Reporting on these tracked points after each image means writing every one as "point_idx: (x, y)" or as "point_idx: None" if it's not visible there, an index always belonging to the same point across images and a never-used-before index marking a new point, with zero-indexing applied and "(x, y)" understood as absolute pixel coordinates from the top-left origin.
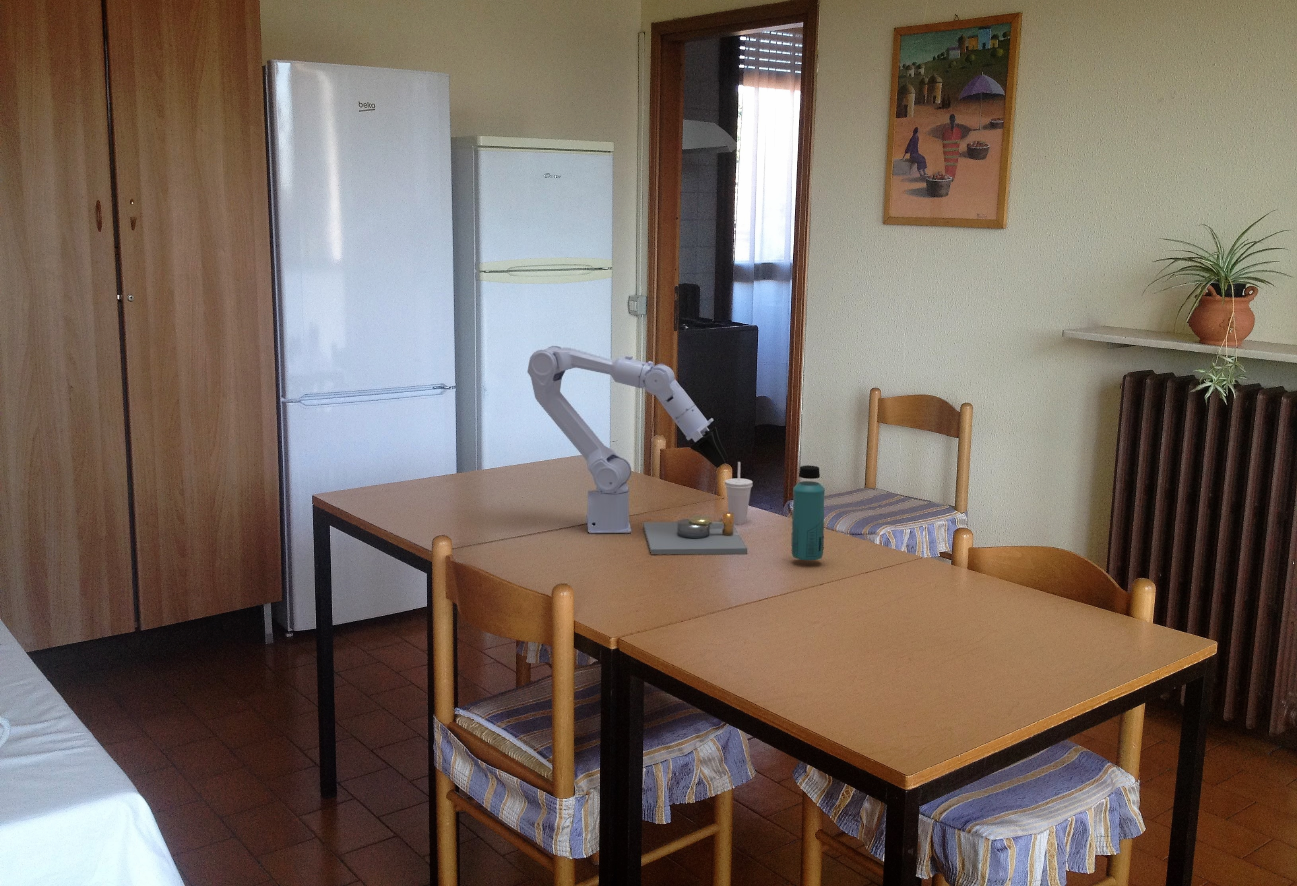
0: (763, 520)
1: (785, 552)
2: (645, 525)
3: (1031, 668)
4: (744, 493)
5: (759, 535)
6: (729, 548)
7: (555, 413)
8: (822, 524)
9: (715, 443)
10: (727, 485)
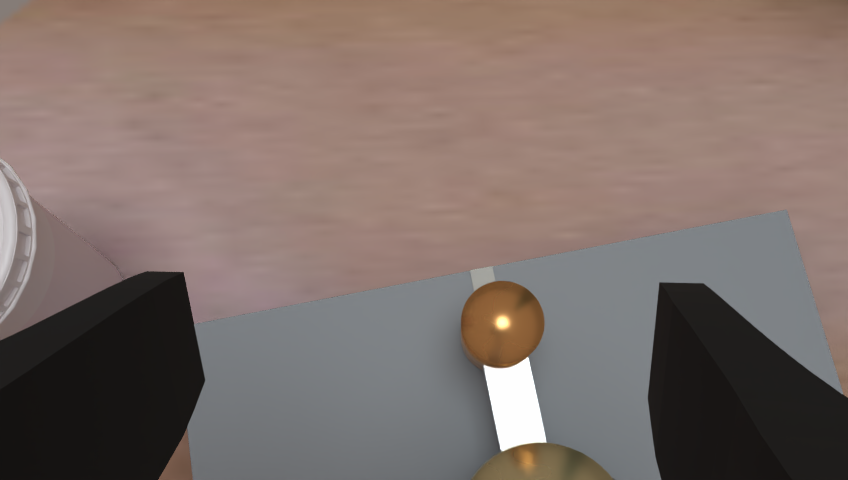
0: (23, 151)
1: (689, 24)
2: None
3: None
4: (36, 210)
5: (362, 164)
6: (815, 313)
7: None
8: None
9: (824, 451)
10: None
